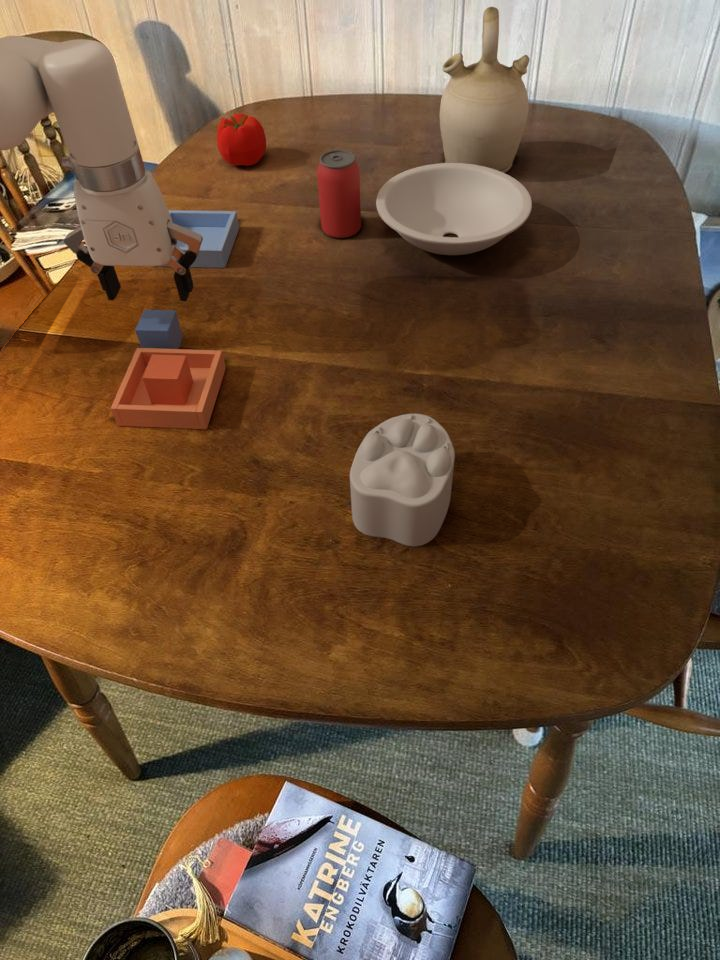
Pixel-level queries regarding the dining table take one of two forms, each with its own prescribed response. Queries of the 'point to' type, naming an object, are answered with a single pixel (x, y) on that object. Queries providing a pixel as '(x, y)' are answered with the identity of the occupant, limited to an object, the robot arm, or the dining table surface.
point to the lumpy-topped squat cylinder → (402, 480)
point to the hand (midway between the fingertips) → (150, 294)
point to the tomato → (241, 140)
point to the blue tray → (209, 235)
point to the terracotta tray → (139, 411)
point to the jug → (484, 105)
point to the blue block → (159, 329)
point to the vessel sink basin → (453, 207)
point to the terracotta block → (168, 379)
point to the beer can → (339, 193)
